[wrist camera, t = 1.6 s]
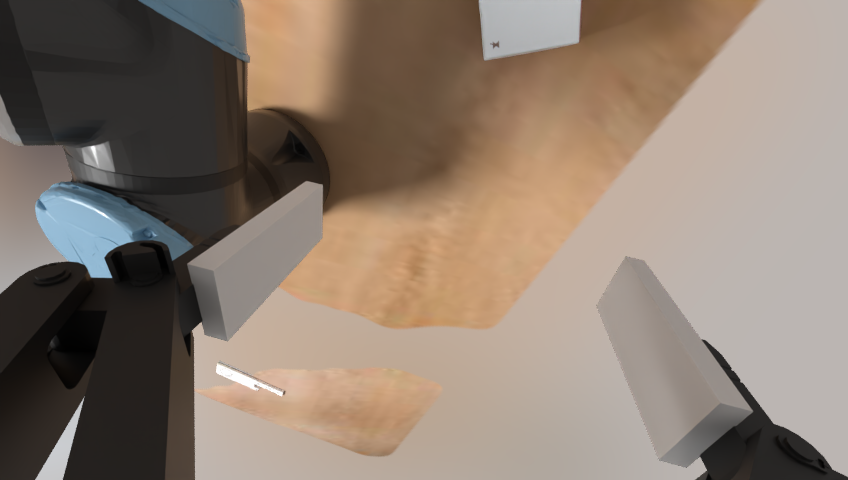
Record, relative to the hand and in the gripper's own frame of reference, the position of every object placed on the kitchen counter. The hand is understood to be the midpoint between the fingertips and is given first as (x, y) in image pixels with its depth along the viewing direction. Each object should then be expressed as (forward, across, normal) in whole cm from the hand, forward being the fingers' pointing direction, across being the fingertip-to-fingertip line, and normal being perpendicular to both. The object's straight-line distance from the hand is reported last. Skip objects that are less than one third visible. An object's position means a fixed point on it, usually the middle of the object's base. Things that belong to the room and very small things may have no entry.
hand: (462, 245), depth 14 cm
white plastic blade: (+27, -35, -62) cm, 76 cm away
